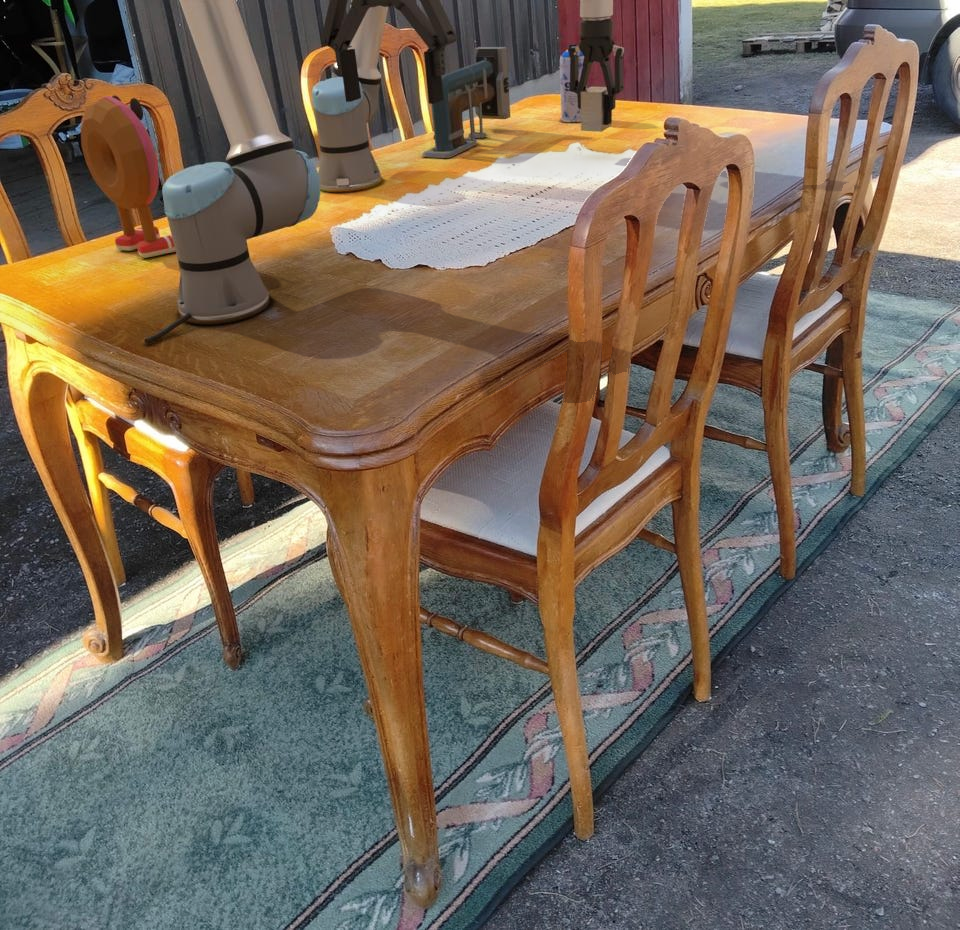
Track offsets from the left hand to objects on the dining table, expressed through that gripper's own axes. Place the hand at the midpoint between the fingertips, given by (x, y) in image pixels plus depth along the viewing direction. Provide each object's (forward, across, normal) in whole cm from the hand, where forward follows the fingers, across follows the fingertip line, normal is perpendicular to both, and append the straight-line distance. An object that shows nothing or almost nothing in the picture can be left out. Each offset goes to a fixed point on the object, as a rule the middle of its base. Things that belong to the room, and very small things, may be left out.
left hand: (394, 101), depth 134 cm
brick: (+27, +14, -108) cm, 113 cm away
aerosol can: (+34, +38, -148) cm, 157 cm away
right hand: (+26, +14, -108) cm, 112 cm away
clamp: (+34, +56, -118) cm, 135 cm away
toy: (+34, +77, -20) cm, 87 cm away
